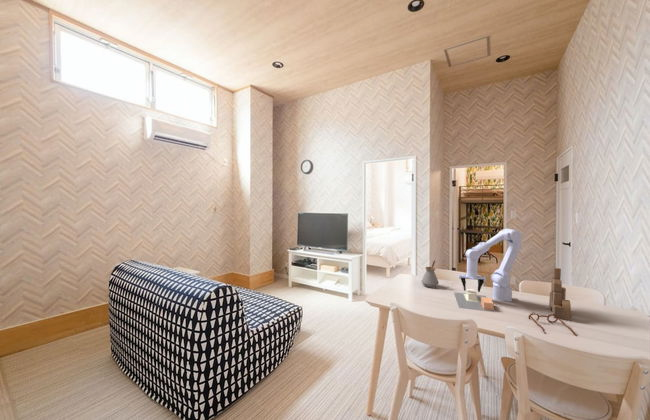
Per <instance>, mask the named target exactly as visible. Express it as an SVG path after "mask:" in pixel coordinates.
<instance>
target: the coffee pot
mask: <svg viewBox="0 0 650 420" xmlns="http://www.w3.org/2000/svg"><path fill="white" fill-rule="evenodd" d="M435 264H436V260H435V259H434V260H433V261H432V265H431V266H426V267H425V272H424V274H423V276H422V279H421V283H422V285H423V286H424V287H425V288H429V287H434V288H436V287H437V286H439V284H440V282H439V279H438V277H437V275H436V273H435V271H436V268H435V267H434V266H435Z"/></svg>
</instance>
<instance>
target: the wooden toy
mask: <svg viewBox="0 0 650 420" xmlns="http://www.w3.org/2000/svg"><path fill="white" fill-rule="evenodd" d="M561 273H562V268H557V267H554V269H553V271H552V274H551V276H552V277H551V285H550V286H551V288H550V292H549V300H548V301H549V305H548V306H549V307H548V308H549V310H550V311H551V312H552V314H555V315H557V316H558V318H559V319H563V320H562V321H569V322H570V321H571V315H572V304H571V300H569V299H566V294H567V292H566V291H567V288H566V287H564V286H563V285H562V279H561V278H562V277H561V275H562V274H561ZM552 317H553V319H556V316H552Z"/></svg>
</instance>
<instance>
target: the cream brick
mask: <svg viewBox="0 0 650 420" xmlns="http://www.w3.org/2000/svg"><path fill="white" fill-rule="evenodd" d="M465 294H466V295H467V298H468V300H474V301H477V295H478V294H477V292H476V290H475V289H471V288H466V292H465Z"/></svg>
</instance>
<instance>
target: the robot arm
mask: <svg viewBox="0 0 650 420" xmlns="http://www.w3.org/2000/svg"><path fill="white" fill-rule="evenodd" d="M522 238H523V234H522V233H521V232H520V231H519V230H516V229H512V228H508V227H507V228H503V229H502V230H500V231H499V232H498V233H497V234H495V235H494V236H492V237H491V238H489V239H488V240H487V241H482V242H481V241H480V242H478V244H477V245H474V246H473V247H471V248H468V249H467V250H466V252H465V253H464V255H465V257H466V274H458V279H459V280H461V283H462V285H463V286H462V287H463V290H464V292H465V291H466V289H467V288H466V284H467V283H466V282H467V281H466V280H473V281H475V280H476V281H477V292H478V293H480V292H481V289H482V287H483V285H484V284H485V282H486V281H487V278H486V276H481V275H478V265H479V264H478V262H479V261H478V260H479V259H480V257H481V256H482V255H483V254H485V253H487V252H488V251H489V250H490V249H491V247H493V246H494V245H496V244H498V243H500V242H502V241H506V242H507V244H508V245H509V246H508V248H507V250H506V253H505V254H504V257H503V259H502V260H501V263H500V265H499V267H498V268H497V269H495V270H494V272H493V273H492V274H491V275H490V280H491V282H492V299H494V300H496V301H501V302H512V301H513V299H512V298H513V290H512V287H511V286H510V285H511V274H510V271H511V270H512V268H513V265H514V263H515V261H516V259H517V257H518V254H519V252H520V251H521V248H522Z"/></svg>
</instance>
